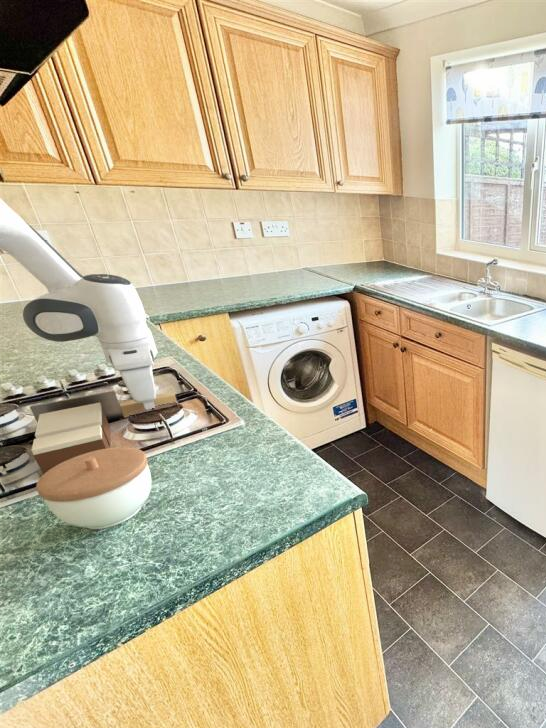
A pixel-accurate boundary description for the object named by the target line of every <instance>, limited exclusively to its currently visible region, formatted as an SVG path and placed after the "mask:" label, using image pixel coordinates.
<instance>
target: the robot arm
mask: <svg viewBox="0 0 546 728" xmlns="http://www.w3.org/2000/svg"><path fill="white" fill-rule="evenodd" d="M0 250H1V251H3V252H5V253H6V254H8V255H9V256H11V257H12V258H13V259H14V260H16V261H17V262H18V264H20V265H21V266H22V267H23V268H24V269H25V270H26V271H28V272H29V273H30V274H31V275H32V276H33V277H34V278H35V279H36V280H38V281H39V282H40V283H41V284H42V285H43V286H44V287H45V288H46V290H47V291H48V292H47V293H44V294H42V295H40V296H38V297H36V298H34V299H33V300H31V301H30V302H28V303H26V304H25V306H24V308H23V311H22V318H23V321H24V323H25V326H27V327H28V329H29V330H30V331H31V332H32V333H34V334H35V335H37V336H38V337H40V338H42V339H45V340H47V341H51V342H56V343H57V342H58V343H63V342H65V343H66V342H72V341H76V340H82V339H86V338H90V337H95V338H97V339H98V341H99V344H100V347H101V350H102V352H103V355H104V358H105V360H106V361H107V362H108V363H110V364H111V365H112V368H113V370H114V371H115V372H119V375H120V377H121V379H122V380H123V382H124V385H125V386H126V389H127V390H128V393H129V395H130V396H131V398H132V400H134V401H135V402H136V403H141V402H142V403H143V405H144V407H145V409H146V410H149V409H152V408H155V405H154V402H153V400H154V399H156V395H157V391H156V385H155V380H154V372H153V366H154V364H155V358H156V356H157V355H158V348H157V346H156V342H155V339H154V336H153V333H152V330H151V329H150V328H149V326H148V325H147V314H146V311H145V308H144V304H143V302H142V300H141V298H140V295H139V293H138V291H137V289H136V287H135V285H134V284H133V283H132V282H131V281H130V280H128V279H127V278H125V277H123V276H119V275H115V274H108V273H107V274H105V273H91V274H86V275H82V274H81V273H80V272H79V271H78V270H77V269H76V268H75V267H73V265H72V264H71V263H70V262H69V261H68V260H67V259H65V258H64V256H63V255H61V254H60V253H59V251H57V250H56V249H55V247H54V246H52V245H51V244H50V242H48V241H47V240H46V239H45V238H44V237H43V235H41V234H40V233H39V232H38V231H37V230H36V229H35V228H34V227H33V226H31V225H30V224H29V223H28V222H27V221H26V220H25V219H23V218H22V217H21V216H20V215H19V214H18V213H17V212H16V211H14V210H13V209H12V208H11V207H10V206H9V205H8V204H7V203H6V202H5V201H4V199H2V198H1V197H0Z"/></svg>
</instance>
